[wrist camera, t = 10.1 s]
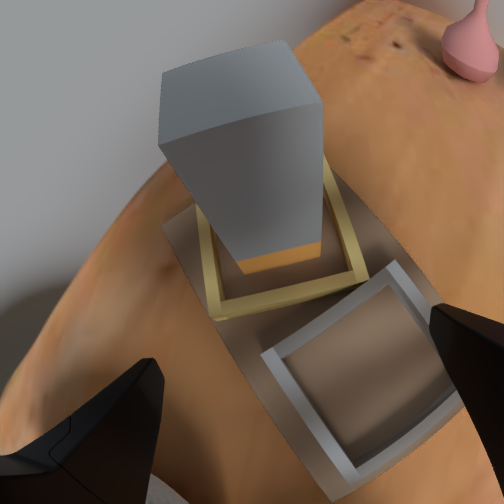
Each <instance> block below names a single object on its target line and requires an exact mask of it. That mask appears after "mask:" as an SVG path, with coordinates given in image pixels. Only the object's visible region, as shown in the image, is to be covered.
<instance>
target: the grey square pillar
mask: <svg viewBox="0 0 504 504" xmlns="http://www.w3.org/2000/svg"><path fill="white" fill-rule="evenodd" d="M158 146H159V147H160V149H161V150H162V152H163V153H164V155H165V156H166V158H167V160H168V161H169V163H170V164H171V166H172V167H173V169H174V170H175V172H176V173H177V175H178V176H179V178H180V179H181V181H182V182H183V184H184V186H185V187H186V189H187V190H188V192H189V193H190V195H191V196H192V198H193V199H194V201H195V202H196V204H197V205H198V207H199V208H200V210H201V211H202V213H203V214H204V216H205V217H206V219H207V220H208V222H209V223H210V225H211V226H212V228H213V229H214V231H215V232H216V233H217V235H218V236H219V238H220V239H221V241H222V242H223V244H224V245H225V247H226V248H227V250H228V251H229V253H230V254H231V256H232V257H233V259H234V260H235V262H236V263H237V264H238V266H239V267H240V269H241V270H242V272H243V273H244V275H248V274H252V273H256V272H260V271H265V270H269V269H273V268H277V267H281V266H285V265H290V264H294V263H298V262H302V261H306V260H310V259H314V258H318V257H320V254H321V234H322V208H323V102H322V100H321V98H320V96H319V94H318V93H317V91H316V89H315V88H314V86H313V84H312V82H311V81H310V79H309V77H308V76H307V74H306V73H305V71H304V69H303V68H302V66H301V64H300V63H299V61H298V60H297V58H296V57H295V55H294V53H293V52H292V50H291V49H290V47H289V46H288V44H287V43H286V42H285V40H280V41H275V42H269V43H264V44H260V45H255V46H251V47H246V48H242V49H238V50H234V51H230V52H226V53H223V54H219V55H216V56H212V57H208V58H205V59H202V60H199V61H196V62H192V63H189V64H186V65H183V66H181V67H178V68H175V69H172V70H169V71H167V72H164V73H163V74H162V84H161V97H160V114H159V137H158Z"/></svg>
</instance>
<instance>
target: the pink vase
mask: <svg viewBox="0 0 504 504" xmlns="http://www.w3.org/2000/svg"><path fill="white" fill-rule="evenodd" d="M488 2H489V0H475V4H474V9H473V10H472V11H471V12H470V13H469V14H468V15H467V16H466V17H465V18H464V19H463V20H461V21H458V22H456V23H453V24H451V25H449V26H447V28H446V30H445V32H444V34H443V37H442V39H441V50H442V58H443V60H444V62H445V63H446V65H447V66H448V67H449V68H450V69H452V70H453V71H454V72H456V73H457V74H458V75H459V76H460V77H462V78H464V79H467V80H471V81H474V82H479V83H485V82H487V81H488V80H489V79H490V78H491V76H492V75H493V74H494V73H495V72H496V71H497V69H498V61H499V51H498V48H497V46H496V44H495V42H494V40H493V38H492V36H491V34H490V31H489V27H488V23H487V19H486V16H485V15H486V11H487V7H488Z"/></svg>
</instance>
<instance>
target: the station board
mask: <svg viewBox="0 0 504 504" xmlns="http://www.w3.org/2000/svg"><path fill="white" fill-rule="evenodd" d="M161 227H162V229H163V231H164V233H165V235H166V237H167V239H168V241H169V243H170V245H171V247H172V249H173V251H174V253H175V255H176V257H177V259H178V261H179V262H180V264H181V266H182V268H183V270H184V272H185V274H186V276H187V278H188V279H189V281H190V283H191V285H192V287H193V289H194V291H195V292H196V294H197V296H198V298H199V300H200V301H201V303H202V305H203V307H204V309H205V310H206V312H207V314H208V316H209V318H210V319H211V321H212V323H213V325H214V326H215V328H216V330H217V332H218V333H219V335H220V337H221V338H222V340H223V342H224V343H225V345H226V347H227V349H228V350H229V352H230V354H231V355H232V357H233V359H234V360H235V362H236V364H237V365H238V367H239V368H240V370H241V372H242V373H243V375H244V377H245V378H246V380H247V381H248V383H249V385H250V386H251V388H252V389H253V391H254V393H255V394H256V396H257V397H258V399H259V400H260V402H261V403H262V405H263V407H264V408H265V410H266V411H267V413H268V414H269V416H270V417H271V419H272V420H273V422H274V423H275V425H276V426H277V428H278V429H279V431H280V432H281V434H282V435H283V437H284V438H285V440H286V441H287V442H288V444H289V445H290V447H291V448H292V450H293V451H294V453H295V454H296V455H297V457H298V458H299V460H300V461H301V462H302V464H303V465H304V467H305V468H306V469H307V471H308V472H309V473H310V475H311V476H312V478H313V479H314V480H315V482H316V483H317V484H318V486H319V487H320V488H321V490H322V491H323V492H324V494H325V495H326V496H327V497H328V499H329V500H330V501H331V503H333V502H335V501H337V500H339V499H341V498H343V497H344V496H346V495H348V494H350V493H352V492H353V491H355V490H357V489H358V488H360V487H362V486H363V485H365V484H367V483H368V482H370V481H371V480H373V479H375V478H376V477H378V476H379V475H381V474H382V473H384V472H385V471H387V470H388V469H390V468H391V467H392V466H394V465H395V464H397V463H398V462H399V461H401V460H402V459H404V458H405V457H406V456H408V455H409V454H410V453H412V452H413V451H414V450H415V449H417V448H418V447H419V446H421V445H422V444H423V443H424V442H425V441H427V440H428V439H429V438H430V437H431V436H433V435H434V434H435V433H436V432H437V431H439V430H440V429H441V428H442V427H443V426H444V425H445V424H446V423H447V422H449V421H450V420H451V419H452V418H453V417H454V416H455V415H456V414H457V413H458V412H459V411H460V410H461V409H462V408H463V407H464V406H465V405H464V403H463V401H462V399H461V397H460V395H459V394H458V392H457V390H456V388H455V386H454V384H453V382H452V380H451V379H450V377H449V375H448V373H447V371H446V369H445V367H444V365H443V363H442V360H441V358H440V355H439V353H438V351H437V349H436V346H435V344H434V342H433V339H432V337H431V335H430V332H429V321H430V312H431V308H432V306H434V305H437V304H440V303H445V302H444V301H443V299H442V298H441V297H440V295H439V294H438V292H437V291H436V290H435V288H434V287H433V286H432V284H431V283H430V282H429V280H428V279H427V278H426V276H425V275H424V274H423V272H422V271H421V270H420V269H419V267H418V266H417V265H416V263H415V262H414V261H413V260H412V258H411V257H410V256H409V255H408V253H407V252H406V251H405V250H404V248H403V247H402V246H401V245H400V244H399V242H398V241H397V240H396V239H395V238H394V236H393V235H392V234H391V233H390V232H389V231H388V229H387V228H386V227H385V226H384V225H383V224H382V222H381V221H380V220H379V219H378V218H377V217H376V216H375V214H374V213H373V212H372V211H371V210H370V209H369V208H368V207H367V206H366V204H365V203H364V202H363V201H362V200H361V199H360V198H359V197H358V196H357V195H356V194H355V193H354V192H353V190H352V189H351V188H350V187H349V186H348V185H347V184H346V183H345V182H344V181H343V180H342V179H341V178H340V177H339V176H338V175H337V174H336V173H335V172H334V171H333V170H332V169H331V168H330V167H329V165H328V162H327V160H326V157H325V155H324V153H323V208H322V234H321V254H320V257H318V258H314V259H310V260H306V261H302V262H298V263H294V264H290V265H285V266H281V267H277V268H273V269H269V270H265V271H260V272H256V273H252V274H248V275H244V273H243V272H242V270H241V269H240V267H239V266H238V264H237V263H236V262H235V260H234V259H233V257H232V256H231V254H230V253H229V251H228V250H227V248H226V247H225V245H224V244H223V242H222V241H221V239H220V238H219V236H218V235H217V233H216V232H215V231H214V229H213V228H212V226H211V225H210V223H209V222H208V220H207V219H206V217H205V216H204V214H203V213H202V211H201V210H200V208H199V207H198V205H197V204H196V202H195V203H194V204H192V205H191V206H189V207H187V208H186V209H184V210H183V211H181V212H180V213H178V214H177V215H175V216H174V217H172V218H171V219H169V220H168V221H167V222H165V223H164V224H162V225H161Z"/></svg>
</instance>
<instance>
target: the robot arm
mask: <svg viewBox="0 0 504 504" xmlns="http://www.w3.org/2000/svg"><path fill="white" fill-rule="evenodd" d="M429 332H430V335H431V337H432V339H433V342H434V344H435V346H436V349H437V351H438V353H439V355H440V358H441V360H442V363H443V365H444V367H445V369H446V371H447V373H448V375H449V377H450V379H451V380H452V382H453V384H454V386H455V388H456V390H457V392H458V394H459V395H460V397H461V399H462V401H463V403H464V405H465V407H466V409H467V411H468V413H469V415H470V417H471V419H472V421H473V424H474V426H475V428H476V430H477V432H478V434H479V436H480V439H481V441H482V443H483V445H484V448H485V450H486V452H487V455H488V457H489V459H490V462H491V464H492V467H494V468H493V470H494V472H495V475H496V477H497V480H498V483H499V485H500V488H501V491H502V494H503V496H504V324H502V323H500V322H497V321H494V320H491V319H488V318H485V317H482V316H480V315H477V314H474V313H471V312H468V311H465V310H462V309H459V308H457V307H454V306H451V305H448V304H445V303H440V304H437V305H434V306H432V308H431V312H430V321H429ZM164 384H165V380H164V376H163V374H162V372H161V370H160V368H159V366H158V364H157V362H156V360H155V359H154V358H143V359H141V360H140V361H138V362H137V363H136V364H135V365H133V366H132V367H131V368H130V369H128V370H127V371H126V372H125V373H123V374H122V375H121V376H119V377H118V378H117V379H116V380H114V381H113V382H112V383H111V384H109V385H108V386H107V387H106V388H104V389H103V390H102V391H100V392H99V393H98V394H97V395H95V396H94V397H93V398H92V399H90V400H89V401H88V402H86V403H85V404H84V405H83V406H81V407H80V408H79V409H77V410H76V411H75V412H74V413H72V414H71V416H68V417H67V418H66V419H65V420H63V421H62V422H61V423H59V424H58V425H57V426H55V427H54V428H53V429H51V430H50V431H48V432H47V433H45V434H44V435H42V436H41V437H39V438H37V439H36V440H34V441H33V442H31V443H30V444H28V445H26V446H25V447H23V448H22V449H20V450H19V451H17V452H15V453H12V454H9V455H3V456H0V504H146V498H147V492H148V486H149V480H150V475H151V469H152V464H153V458H154V453H155V448H156V443H157V438H158V433H159V428H160V423H161V415H162V404H163V394H164Z"/></svg>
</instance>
